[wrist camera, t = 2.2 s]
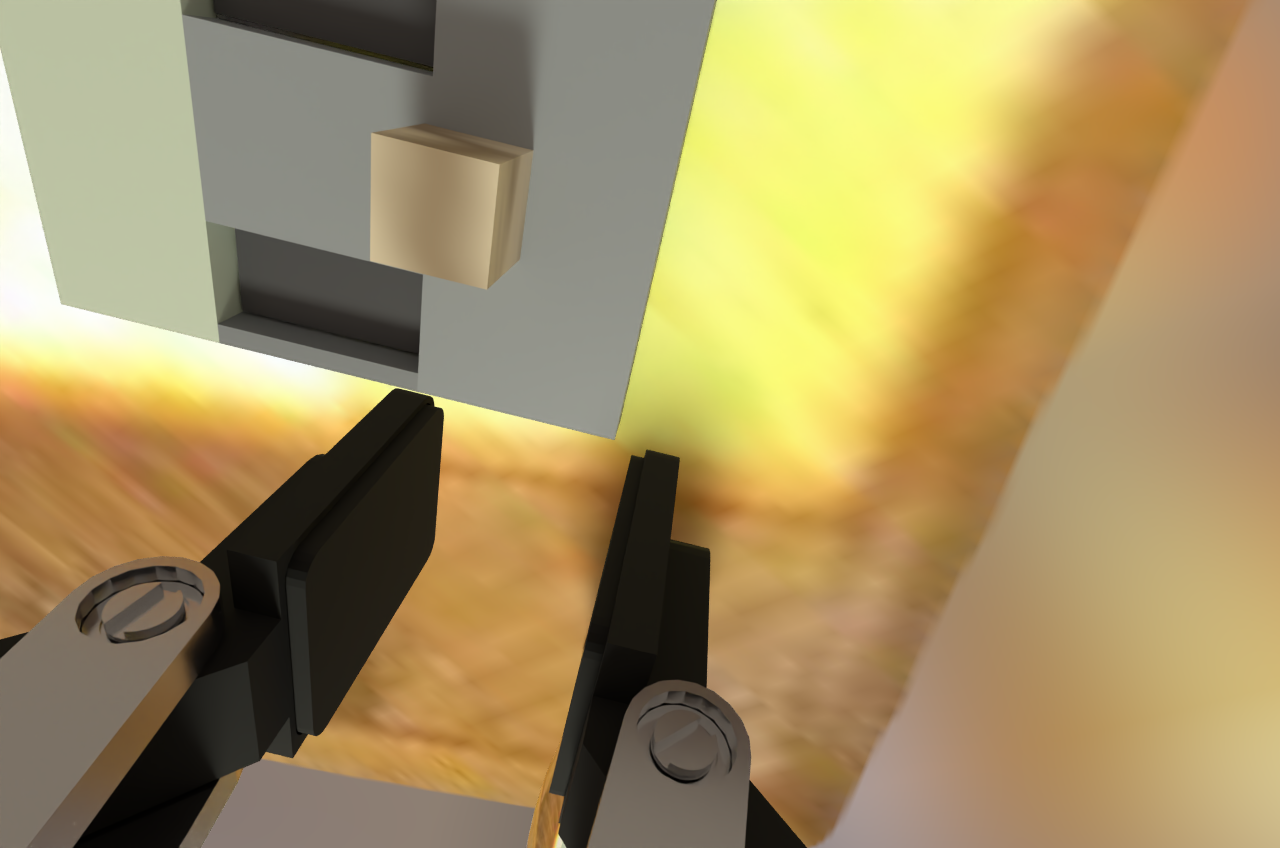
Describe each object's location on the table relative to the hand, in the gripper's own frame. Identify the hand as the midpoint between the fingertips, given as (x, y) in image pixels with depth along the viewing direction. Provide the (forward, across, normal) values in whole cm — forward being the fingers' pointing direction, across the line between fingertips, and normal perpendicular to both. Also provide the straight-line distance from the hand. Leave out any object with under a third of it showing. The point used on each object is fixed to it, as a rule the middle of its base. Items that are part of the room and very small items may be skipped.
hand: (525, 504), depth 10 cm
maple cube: (+19, +8, 0) cm, 21 cm away
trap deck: (+21, +14, 0) cm, 25 cm away
